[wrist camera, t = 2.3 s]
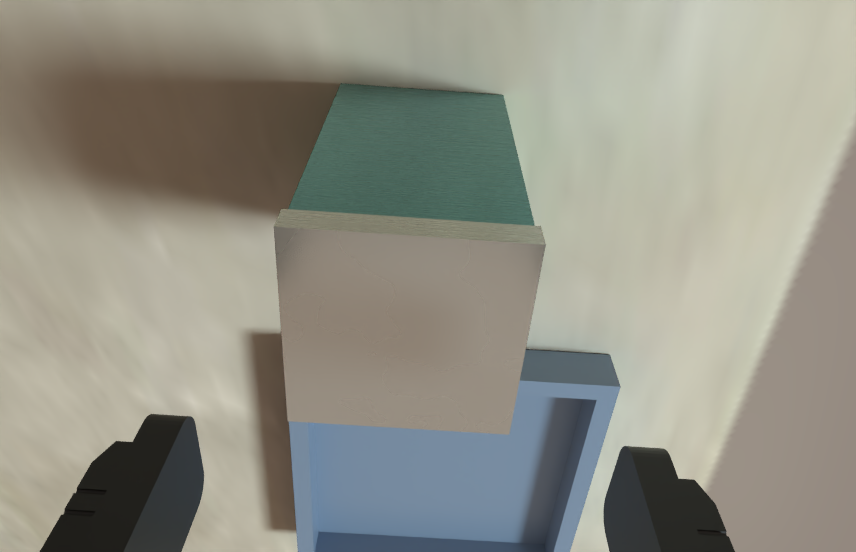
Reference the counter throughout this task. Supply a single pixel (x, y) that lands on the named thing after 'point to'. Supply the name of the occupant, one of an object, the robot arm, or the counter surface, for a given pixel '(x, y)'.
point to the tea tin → (408, 265)
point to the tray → (460, 472)
